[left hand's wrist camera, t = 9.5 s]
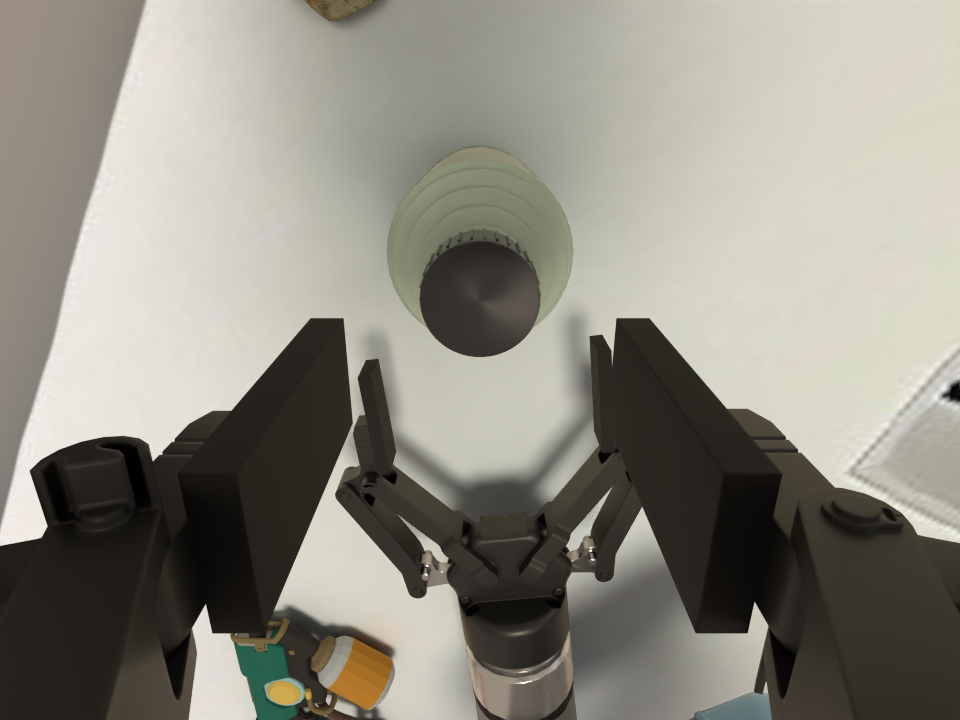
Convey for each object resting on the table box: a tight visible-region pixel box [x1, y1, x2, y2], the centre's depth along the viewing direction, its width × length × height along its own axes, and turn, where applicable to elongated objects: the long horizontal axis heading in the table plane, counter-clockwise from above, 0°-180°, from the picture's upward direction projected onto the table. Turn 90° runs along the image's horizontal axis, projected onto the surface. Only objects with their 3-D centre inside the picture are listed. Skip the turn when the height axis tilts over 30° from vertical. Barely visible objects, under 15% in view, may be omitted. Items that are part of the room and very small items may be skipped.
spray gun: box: [230, 618, 395, 720], centre depth 52 cm, size 4×17×15 cm
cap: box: [419, 228, 541, 357], centre depth 21 cm, size 4×4×2 cm
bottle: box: [387, 147, 573, 328], centre depth 29 cm, size 8×8×19 cm
